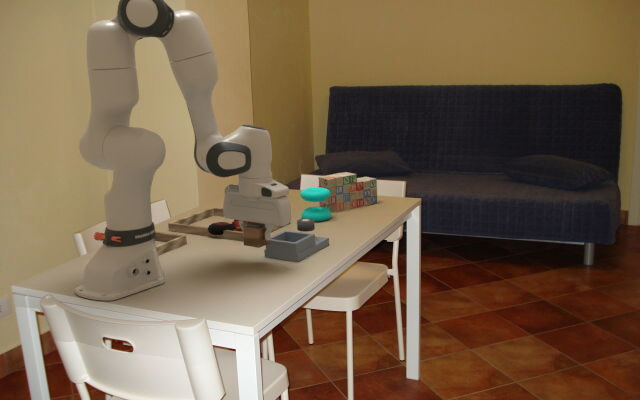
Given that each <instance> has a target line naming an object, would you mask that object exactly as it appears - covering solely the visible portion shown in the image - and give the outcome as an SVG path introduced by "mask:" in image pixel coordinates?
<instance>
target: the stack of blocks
mask: <svg viewBox="0 0 640 400" xmlns="http://www.w3.org/2000/svg"><path fill="white" fill-rule="evenodd" d="M357 175H358V174H357V173H352V172H347V171H344V172H337V173H333V174H327V175H321V176H318V187H321V188H326V189H328V190H329V191H330V197H329V198H328V199H326V200H324V201H320V202H319V207H325V208H327V209H329V210H330V212H331V214H332V213H337V212H342V211H348V210H353V209H356V208H361V207H367V206H370V205H375V204H378V185H377V184H378V183H377V181H378V180H377V178H375V177H369V176H363V177H362V176H361V177H357ZM347 209H348V210H347Z"/></svg>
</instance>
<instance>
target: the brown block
mask: <svg viewBox="0 0 640 400" xmlns="http://www.w3.org/2000/svg"><path fill="white" fill-rule="evenodd" d="M266 229H267V228H265V224H263V223H256V222H252V223H249V224H247V226H245V227H243V235H244V241H243V246H247V247H252V248H258V249H260V248H262V247H266V245H268V244H270V240H263V239H262V233H265V232H266Z"/></svg>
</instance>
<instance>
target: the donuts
mask: <svg viewBox="0 0 640 400" xmlns="http://www.w3.org/2000/svg"><path fill="white" fill-rule="evenodd" d="M329 197H330V191H329V190H328V189H326V188H321V187H319V186H318V187H317V186H316V187H308V188H304V189H303V190H301V192H300V198H301V199H302V200H304V201H305V202H308V203H318V202H319V203H320V201H324V200H326V199H328V198H329ZM300 215H301V219H313V220H314V223H315V222H323V221H327V220H329V219H330V218H331V216H332V213H331V212H330V210H329V209H327V208H325V207H320V206H318V205H317V206H310V207H306V208H305V209H303V210H302V212H301V214H300Z"/></svg>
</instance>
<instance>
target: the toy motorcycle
mask: <svg viewBox="0 0 640 400" xmlns="http://www.w3.org/2000/svg"><path fill="white" fill-rule="evenodd" d="M249 223H252V222H249V221H248V223H246V224H249ZM225 230H231V231H239V232H243V230H242V229H241V227H240V225H239V220H235V219H233V221H232V222H225V221H217V222H213V223H210V224H209V225H208V231H209V233H211V234H213V235H222V234H223V233H224V231H225Z"/></svg>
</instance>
